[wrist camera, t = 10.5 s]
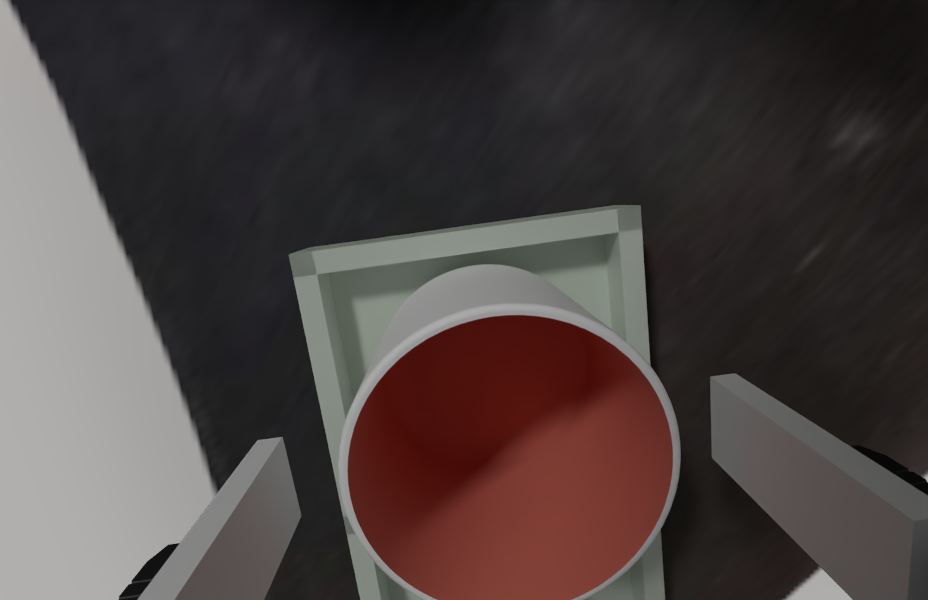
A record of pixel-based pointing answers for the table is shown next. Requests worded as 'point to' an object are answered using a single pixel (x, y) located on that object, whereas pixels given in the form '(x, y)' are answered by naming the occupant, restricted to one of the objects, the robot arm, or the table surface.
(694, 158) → the table surface
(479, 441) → the cup
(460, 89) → the table surface
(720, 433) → the robot arm
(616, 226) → the holder
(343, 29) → the table surface
